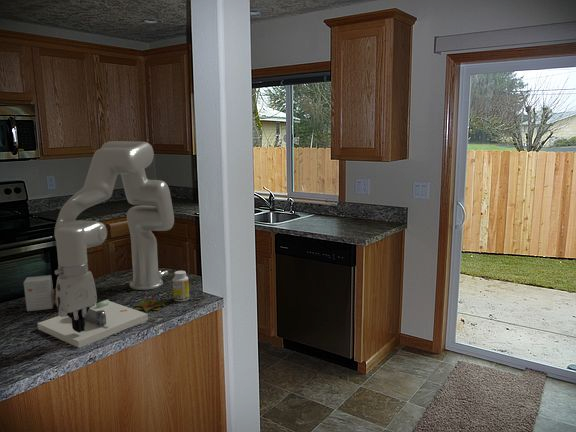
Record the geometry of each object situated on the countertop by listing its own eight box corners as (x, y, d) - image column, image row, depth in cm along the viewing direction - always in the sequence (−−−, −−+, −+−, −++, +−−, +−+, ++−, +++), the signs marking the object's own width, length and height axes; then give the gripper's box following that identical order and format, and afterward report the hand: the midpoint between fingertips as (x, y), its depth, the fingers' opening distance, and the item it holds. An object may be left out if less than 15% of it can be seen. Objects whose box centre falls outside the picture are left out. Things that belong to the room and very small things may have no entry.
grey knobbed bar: (68, 317, 148) (67, 304, 147) (83, 312, 152) (82, 300, 151) (96, 328, 140) (95, 315, 139) (111, 323, 144) (110, 310, 143)
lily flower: (138, 301, 170) (137, 289, 169) (171, 301, 170) (171, 289, 169) (127, 314, 158) (126, 301, 157) (163, 314, 158) (162, 301, 157)
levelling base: (106, 305, 164) (105, 295, 164) (147, 319, 152) (147, 309, 151) (38, 329, 145) (36, 318, 144) (79, 348, 133) (78, 336, 132)
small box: (55, 303, 166) (52, 274, 165) (52, 308, 161) (49, 279, 159) (29, 306, 164) (26, 277, 162) (26, 311, 159) (23, 282, 157)
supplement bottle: (187, 295, 174) (186, 269, 172) (191, 300, 169) (189, 273, 167) (171, 298, 172) (170, 271, 170) (175, 303, 167) (174, 275, 165)
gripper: (55, 279, 125) (61, 343, 128) (105, 265, 137) (109, 324, 141) (40, 274, 129) (46, 336, 133) (90, 261, 141) (94, 319, 145)
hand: (79, 330), depth 137 cm, fingers closed
